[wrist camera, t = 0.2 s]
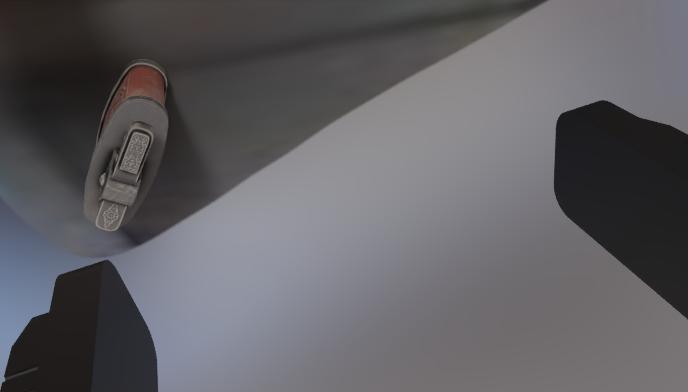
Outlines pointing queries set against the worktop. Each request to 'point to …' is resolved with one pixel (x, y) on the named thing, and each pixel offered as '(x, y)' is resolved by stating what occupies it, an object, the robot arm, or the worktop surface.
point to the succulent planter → (127, 146)
